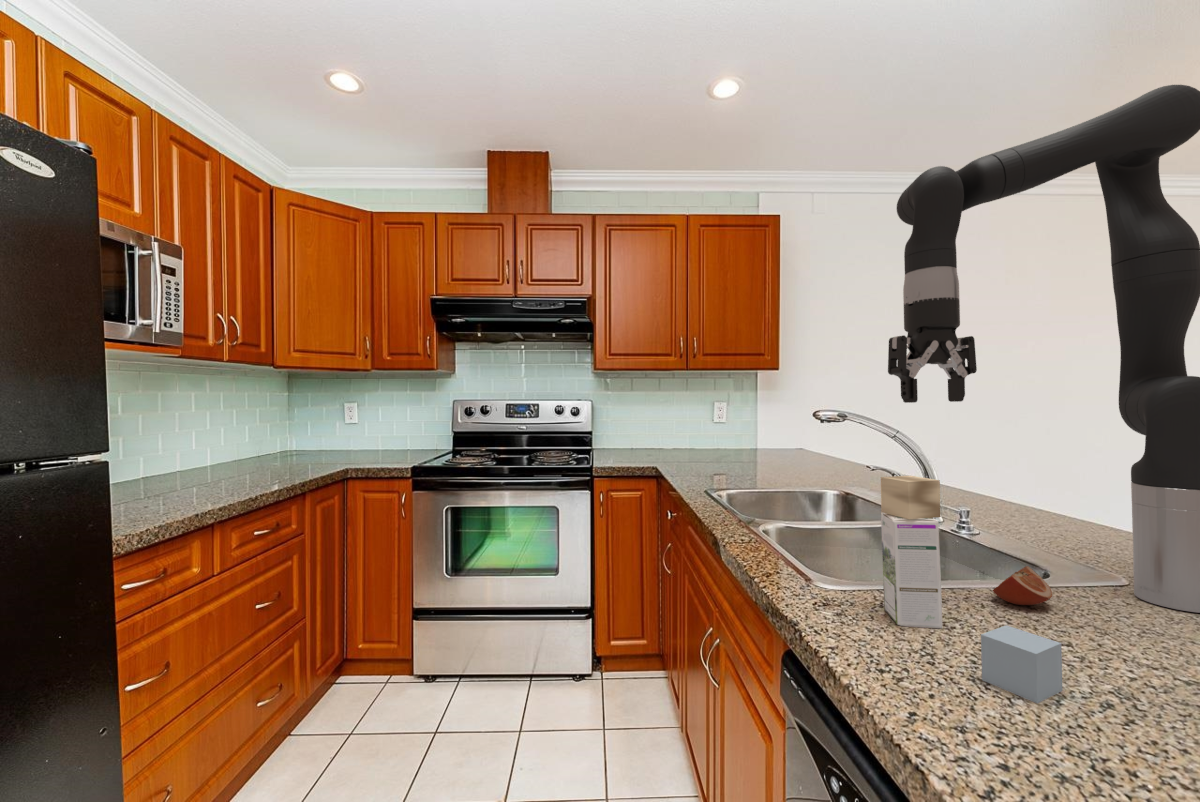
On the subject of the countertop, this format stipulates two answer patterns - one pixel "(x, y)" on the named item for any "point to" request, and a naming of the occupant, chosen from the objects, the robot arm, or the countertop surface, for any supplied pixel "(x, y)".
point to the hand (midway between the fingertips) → (933, 402)
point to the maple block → (910, 497)
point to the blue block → (1022, 663)
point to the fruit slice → (1024, 588)
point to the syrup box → (911, 571)
